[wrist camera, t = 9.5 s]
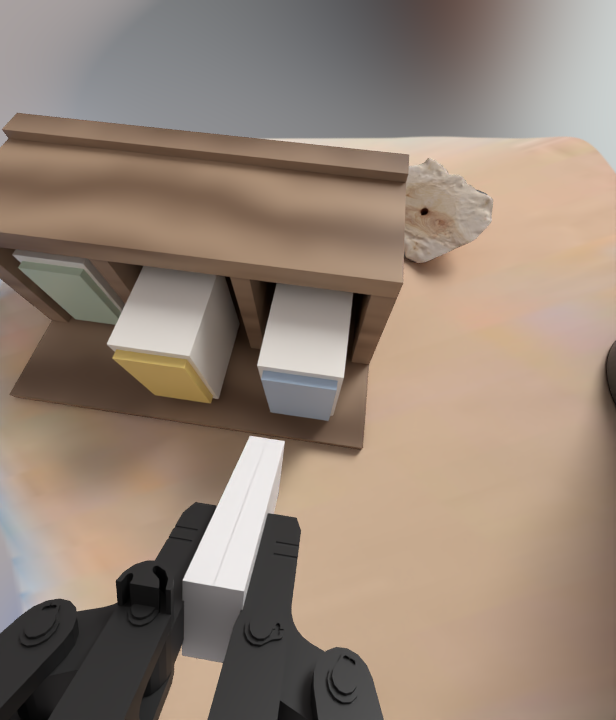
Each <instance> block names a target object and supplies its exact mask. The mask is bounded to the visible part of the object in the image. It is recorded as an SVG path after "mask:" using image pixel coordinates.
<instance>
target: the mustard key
mask: <svg viewBox="0 0 616 720" xmlns="http://www.w3.org/2000/svg"><path fill="white" fill-rule="evenodd" d="M239 324H240V323H239V320H238V317H237V314H236V310H235V307H234V304H233V301H232V298H231V295H230V291H229V288H228V285H227V282H226V279H225V276H220V275H212V274H204V273H197V272H189V271H181V270H173V269H165V268H158V267H150V266H143V268H142V270H141V272H140V274H139V277H138V279H137V281H136V283H135V285H134V287H133V289H132V291H131V294H130V296H129V298H128V300H127V302H126V304H125V306H124V308H123V310H122V313H121V315H120V317H119V319H118V321H117V323H116V325H115V327H114V330H113V332H112V334H111V336H110V338H109V340H108V342H107V345H108V346H109V347H110V348H111V349H112V350H113V351H114V352H115V353H114V355H113V357H112V359H114V360H115V361H116V362H117V363H118V364H119V365H121V366H122V367H123V368H124V369H125V370H126V371H128V372H129V373H130V374H131V375H132V376H133V377H134V378H136V379H137V380H138V381H139V382H140V383H141V384H143V385H144V386H145V387H146V388H147V389H148V390H150V391H151V392H152V393H153V394H154V395H157V396H164V397H170V398H177V399H184V400H190V401H197V402H204V403H211V402H212V398H215V399H219V396H220V392H221V389H222V385H223V382H224V378H225V374H226V371H227V367H228V364H229V360H230V357H231V353H232V349H233V346H234V342H235V339H236V335H237V332H238V328H239Z"/></svg>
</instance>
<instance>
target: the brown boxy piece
mask: <svg viewBox="0 0 616 720" xmlns="http://www.w3.org/2000/svg"><path fill="white" fill-rule="evenodd" d="M2 130H3V131H4V133H5V134H6V135H7V137H8V138H9V139H8V140H7V141H6V142H5V143H4V144H3V146H1V148H0V279H1V280H3V281H4V282H5V283H6V284H8V285H9V286H10V287H11V288H13V289H14V290H15V291H16V292H18V293H19V294H20V295H21V296H22V297H24V298H25V299H26V300H27V301H29V302H30V303H31V304H32V305H34V306H35V307H36V308H37V309H39V310H40V311H41V312H42V313H44V314H45V315H46V316H47V317H48V318H50V319H51V320H52V322H51V323H50V325H49V327H48V329H47V330H46V332H45V334H44V335H43V337H42V339H41V341H40V342H39V344H38V346H37V348H36V349H35V351H34V353H33V355H32V356H31V358H30V360H29V362H28V363H27V365H26V367H25V369H24V370H23V372H22V374H21V376H20V377H19V379H18V381H17V383H16V384H15V386H14V388H13V389H12V391H11V393H10V395H12V396H14V397H18V398H25V399H32V400H38V401H45V402H51V403H58V404H65V405H71V406H78V407H84V408H91V409H97V410H104V411H111V412H117V413H124V414H130V415H137V416H144V417H150V418H157V419H163V420H170V421H176V422H183V423H190V424H196V425H203V426H209V427H216V428H223V429H229V430H236V431H242V432H249V433H255V434H262V435H269V436H275V437H282V438H288V439H295V440H302V441H308V442H315V443H321V444H328V445H334V446H341V447H348V448H354V449H361V450H362V448H363V437H364V424H365V411H366V397H367V384H368V370H369V363H370V361H371V358H372V356H373V354H374V351H375V349H376V346H377V344H378V342H379V339H380V337H381V335H382V332H383V330H384V327H385V325H386V323H387V320H388V318H389V316H390V313H391V311H392V308H393V306H394V304H395V301H396V299H397V297H398V294H399V292H400V289H401V287H402V285H403V275H404V238H405V202H406V181H407V177H408V174H409V155H408V154H398V153H389V152H379V151H370V150H361V149H351V148H342V147H332V146H323V145H313V144H304V143H295V142H285V141H276V140H266V139H257V138H248V137H238V136H229V135H219V134H210V133H201V132H190V131H182V130H172V129H162V128H154V127H144V126H134V125H125V124H116V123H106V122H97V121H87V120H78V119H69V118H60V117H50V116H41V115H31V114H22V113H17V114H16V115H15V116H14V117H13V118H12V119H11V120H10V121H9V122H8V123H7V124H6V125H5V127H4V128H3V129H2ZM16 249H17V250H25V251H33V252H41V253H48V254H56V255H64V256H72V257H80V258H87V259H89V260H90V261H91V262H92V264H93V265H94V266H95V267H96V269H97V270H98V271H99V272H100V274H101V275H102V276H103V277H104V279H105V280H106V281H107V282H108V283H109V285H110V286H111V287H112V288H113V290H114V291H115V292H116V293H117V295H118V296H119V297H120V298H121V299H122V301H123V302H124V303H125V304H126V302H127V300H128V298H129V296H130V294H131V291H132V289H133V287H134V285H135V283H136V281H137V279H138V277H139V274H140V272H141V270H142V268H143V266H150V267H158V268H165V269H173V270H181V271H189V272H197V273H204V274H212V275H220V276H225V279H226V282H227V285H228V288H229V291H230V295H231V298H232V301H233V304H234V307H235V310H236V314H237V317H238V320H239V323H240V324H239V328H238V332H237V335H236V339H235V342H234V346H233V349H232V353H231V357H230V360H229V364H228V367H227V371H226V374H225V378H224V382H223V385H222V389H221V392H220V396H219V399H215V398H212V402H211V403H204V402H197V401H190V400H184V399H177V398H170V397H164V396H157V395H154V394H153V393H152V392H151V391H150V390H148V389H147V388H146V387H145V386H144V385H143V384H141V383H140V382H139V381H138V380H137V379H136V378H134V377H133V376H132V375H131V374H130V373H129V372H128V371H126V370H125V369H124V368H123V367H122V366H121V365H119V364H118V363H117V362H116V361H115V360H114V359H112V357H113V355H114V353H115V352H114V351H113V350H112V349H111V348H110V347H109V346H108V345H107V342H108V340H109V338H110V336H111V334H112V332H113V330H114V327H115V325H113V324H106V323H99V322H91V321H84V320H77V319H75V318H74V317H72V316H71V315H70V314H69V313H68V312H67V311H66V310H65V309H63V308H62V307H61V306H60V305H59V304H58V303H57V302H56V301H55V300H53V299H52V298H51V297H50V296H49V295H48V294H47V293H46V292H44V291H43V290H42V289H41V288H40V287H39V286H38V285H37V284H36V283H34V282H33V281H32V280H31V279H30V278H29V277H28V276H27V275H25V274H24V273H23V272H22V271H21V270H20V269H19V268H18V267H19V265H20V264H21V262H19V261H18V260H17V259H16V258H15V257H14V256H13V255H12V254H13V253H14V251H15V250H16ZM277 283H282V284H290V285H298V286H306V287H314V288H321V289H329V290H337V291H345V292H353V299H352V308H351V317H350V326H349V335H348V345H347V354H346V363H345V372H344V379H343V383H342V386H341V390H340V393H339V397H338V400H337V404H336V407H335V411H334V414H333V416H330V418H329V421H326V420H319V419H312V418H305V417H299V416H292V415H285V414H278V413H272V412H270V409H269V405H268V402H267V398H266V395H265V391H264V388H263V384H262V381H261V377H260V374H259V370H258V367H257V364H258V360H259V355H260V351H261V347H262V343H263V339H264V334H265V330H266V326H267V322H268V317H269V313H270V309H271V305H272V301H273V296H274V292H275V288H276V284H277Z"/></svg>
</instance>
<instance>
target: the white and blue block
mask: <svg viewBox="0 0 616 720" xmlns="http://www.w3.org/2000/svg"><path fill="white" fill-rule="evenodd" d="M352 299H353V292H345V291H337V290H329V289H321V288H314V287H306V286H298V285H290V284H282V283H277V284H276V288H275V292H274V296H273V301H272V305H271V309H270V313H269V317H268V322H267V326H266V330H265V334H264V339H263V343H262V347H261V351H260V355H259V360H258V364H257V367H258V370H259V374H260V377H261V381H262V384H263V388H264V391H265V395H266V398H267V402H268V405H269V409H270V412H272V413H278V414H285V415H292V416H299V417H305V418H312V419H319V420H326V421H329V418H330V416H333V414H334V411H335V407H336V404H337V400H338V397H339V393H340V390H341V386H342V383H343V379H344V372H345V363H346V354H347V345H348V335H349V326H350V317H351V308H352Z"/></svg>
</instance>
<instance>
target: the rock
mask: <svg viewBox="0 0 616 720" xmlns="http://www.w3.org/2000/svg"><path fill="white" fill-rule="evenodd" d="M492 207H493V199H492V198H491V197H490V196H488V195H487V194H486V193H484V192H481V191H479V190H476V189H475V188H474V187H472V186H471V185H468V184H467V183H466V180H464V179H463V177H462V176H459V175H451V174H449V173H448V172H447V170H446V169H445V168H444V167H443V166H442V165H441V164H439V163H438V162H437V161H435V160H433V159H431V158H428V159H427V160H426V161H425V162H424V163H422V164H420V165H416V166H409V174H408V177H407V181H406V202H405V238H404V257H405V258H406V259H408V260H410V261H413V262H416V263H423V262H427V261H429V260H431V259H434V258H436V257H439V256H441V255H443V254H445V253H447V252H450V251H452V250H454V249H456V248H458V247H460V246H462V245H465V244H467V243H469V242H472V241H473V240H475V239H476V238H477V237H478V236H479V235H480V234H481V233H482V232H483V231H484V230H485V229H486V228H487V227H488V225H489V224H490V223H491V221H492V220H491V215H492Z"/></svg>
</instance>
